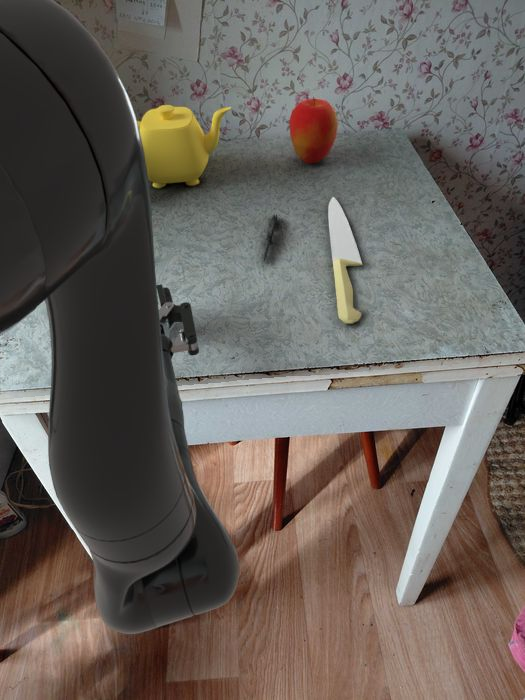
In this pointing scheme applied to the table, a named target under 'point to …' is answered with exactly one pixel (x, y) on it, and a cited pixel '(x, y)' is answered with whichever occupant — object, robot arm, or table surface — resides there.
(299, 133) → the apple
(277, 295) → the table surface
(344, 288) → the knife
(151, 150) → the teapot
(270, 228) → the folding knife
